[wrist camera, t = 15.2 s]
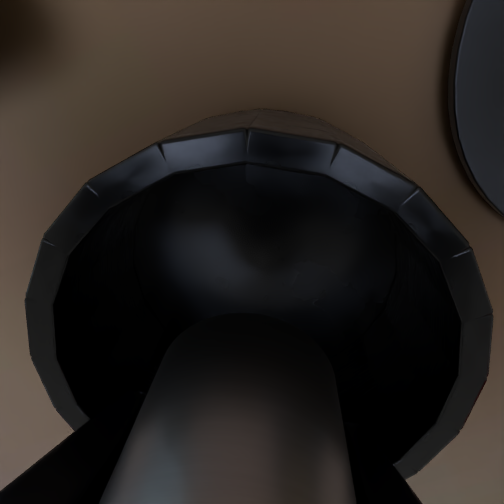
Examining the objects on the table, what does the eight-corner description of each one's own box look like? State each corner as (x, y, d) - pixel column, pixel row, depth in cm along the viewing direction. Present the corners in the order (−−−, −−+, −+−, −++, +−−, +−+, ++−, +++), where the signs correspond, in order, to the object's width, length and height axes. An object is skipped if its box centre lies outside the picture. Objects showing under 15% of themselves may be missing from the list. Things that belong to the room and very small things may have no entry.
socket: (373, 392, 9) (472, 742, 4) (248, 472, 10) (216, 804, 5) (245, 275, 8) (188, 555, 3) (126, 380, 9) (-38, 686, 4)
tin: (474, 268, 14) (591, 383, 9) (261, 415, 18) (252, 561, 13) (263, 29, 12) (245, -16, 6) (66, 257, 15) (-54, 353, 10)
